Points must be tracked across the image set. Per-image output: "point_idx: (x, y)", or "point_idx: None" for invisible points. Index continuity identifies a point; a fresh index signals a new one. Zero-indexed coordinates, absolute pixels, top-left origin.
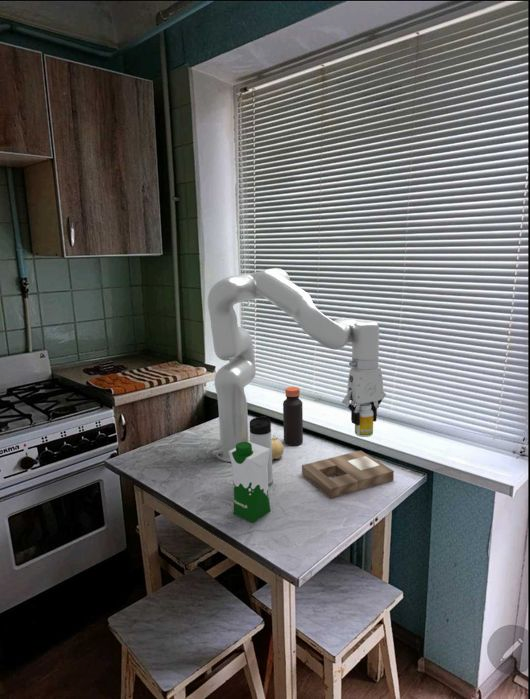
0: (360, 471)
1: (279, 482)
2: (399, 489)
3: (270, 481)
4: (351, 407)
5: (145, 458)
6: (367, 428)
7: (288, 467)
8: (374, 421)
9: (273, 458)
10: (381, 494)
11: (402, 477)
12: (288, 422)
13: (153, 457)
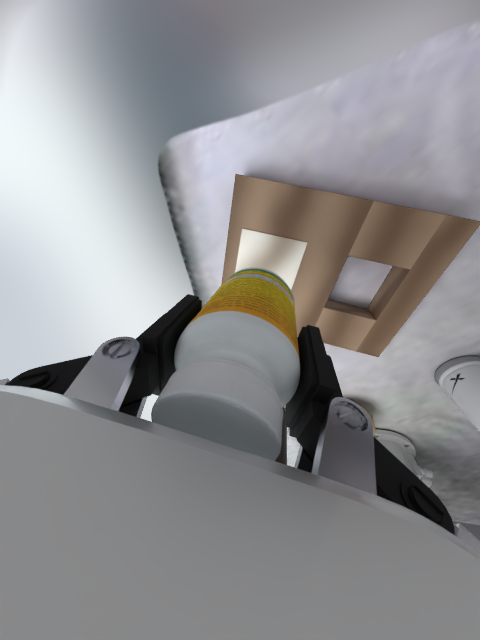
0: (311, 240)
1: (436, 352)
2: (271, 117)
3: (474, 362)
4: (425, 491)
5: (473, 509)
6: (271, 285)
7: (359, 374)
8: (198, 299)
9: (360, 406)
10: (336, 132)
11: (211, 172)
12: (285, 459)
13: (462, 504)
